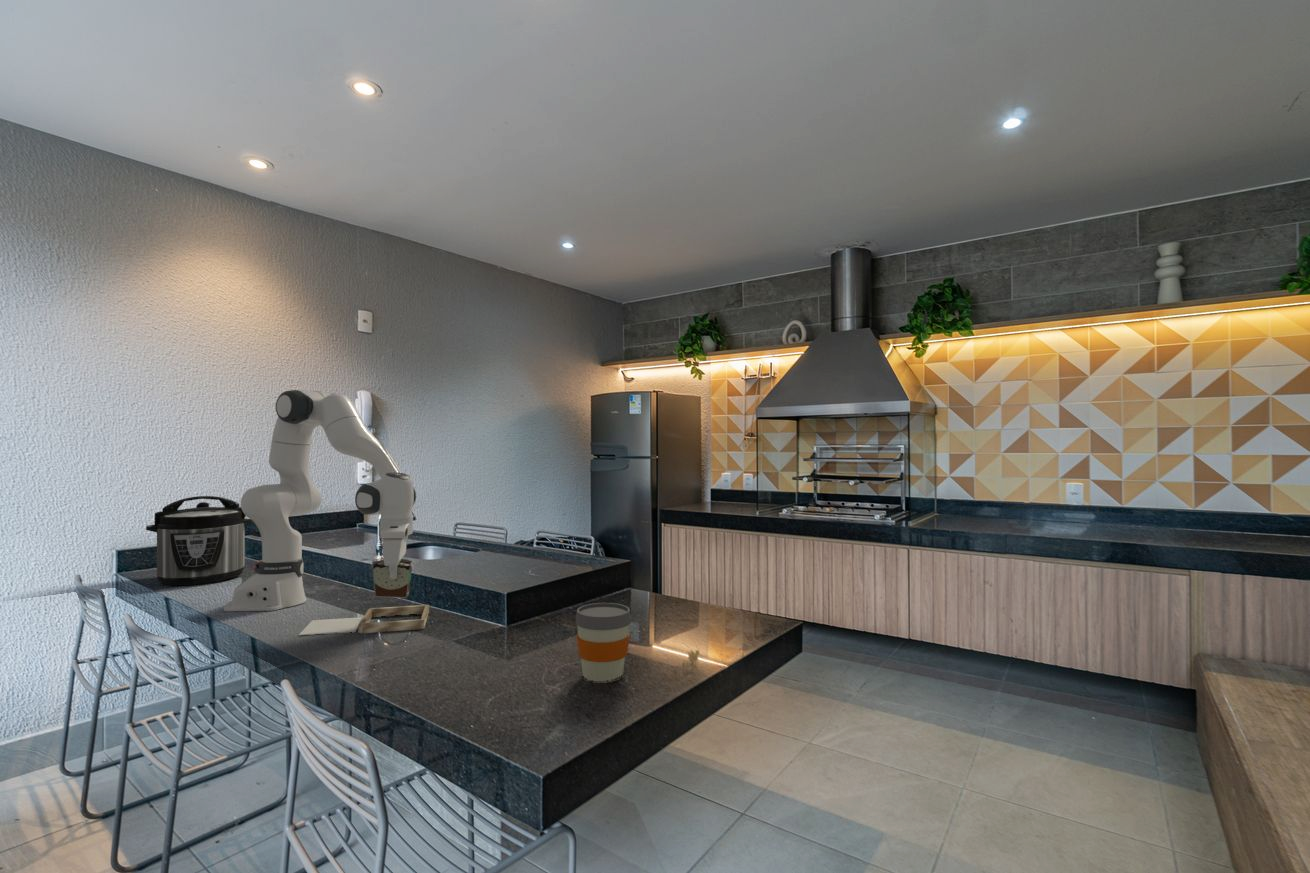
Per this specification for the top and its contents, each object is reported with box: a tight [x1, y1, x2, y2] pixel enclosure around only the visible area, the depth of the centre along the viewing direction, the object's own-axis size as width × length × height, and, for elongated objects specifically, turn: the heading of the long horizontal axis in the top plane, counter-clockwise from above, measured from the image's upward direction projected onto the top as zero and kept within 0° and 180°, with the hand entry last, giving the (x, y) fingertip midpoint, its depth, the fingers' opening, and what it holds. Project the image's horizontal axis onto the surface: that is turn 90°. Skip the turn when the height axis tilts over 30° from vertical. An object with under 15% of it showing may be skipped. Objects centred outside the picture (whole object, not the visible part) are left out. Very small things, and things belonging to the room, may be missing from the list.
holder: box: [357, 604, 430, 634], centre depth 177 cm, size 17×17×2 cm
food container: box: [370, 558, 415, 599], centre depth 178 cm, size 12×6×10 cm, turn 88°
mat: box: [298, 616, 364, 637], centre depth 172 cm, size 14×14×1 cm
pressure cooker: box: [145, 495, 255, 586], centre depth 231 cm, size 30×28×32 cm
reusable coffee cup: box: [575, 602, 632, 681], centre depth 137 cm, size 13×13×15 cm
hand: (395, 575), depth 177 cm, fingers closed on food container, 6 cm apart
